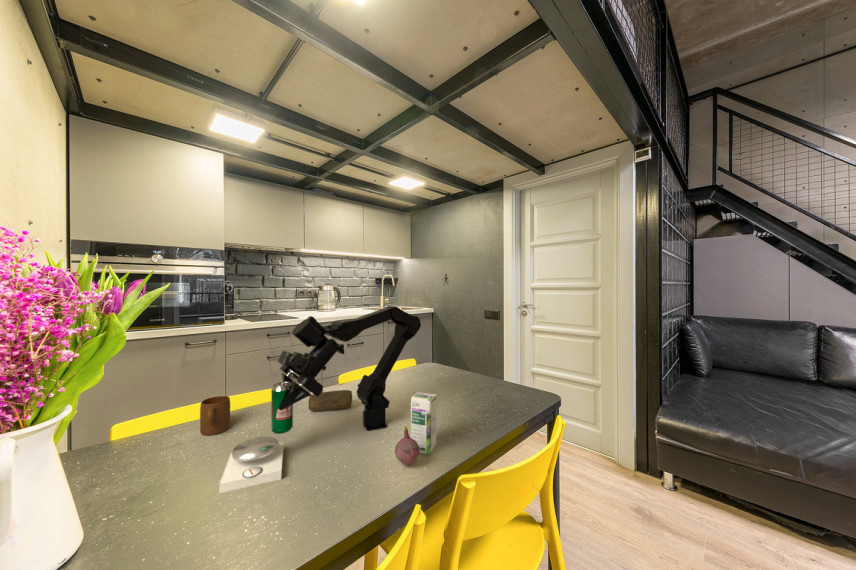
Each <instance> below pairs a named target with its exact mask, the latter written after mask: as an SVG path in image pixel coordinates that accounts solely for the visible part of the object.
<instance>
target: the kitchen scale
mask: <svg viewBox="0 0 856 570" xmlns="http://www.w3.org/2000/svg"><path fill="white" fill-rule="evenodd" d="M283 456H284V442H283V441H282V442H278V448H277V449H276V450H275V451H274V452H273V453H272V454H270V455H268V456H266V457H263V458H261V459H257V460H253V461H237V460H234V459H233V458H232V451H231V453H230V455H229V457H228V460H227V463H226V466H225V468H224V470H223V473H222V476H221V479H220V481H219V483H218V484H219V486H218V487H219V490H218V491H219V493H218V494H222V493H228V492H232V491H236V490H240V489H244V488H245V489H246V488H249V487H253V486H257V485H259V486H260V485H262V484H267V483H271V482H276V481H281V480H282V475H283V459H284V458H283Z"/></svg>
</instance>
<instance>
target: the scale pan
mask: <svg viewBox="0 0 856 570" xmlns="http://www.w3.org/2000/svg"><path fill="white" fill-rule="evenodd" d="M278 443H279V440H278V438H276V437H273V436H272V437H271V436H260V437H254V438H251V439H247V440H245V441H243V442H241V443H238V444H237V445H236V446H235V447H234V448H233V449H232V451H231V452H232V458H233V459H234V460H237V461H253V460H257V459H261V458H263V457H266V456H268V455H270V454H272V453H273V452H274V451H275V450H276V449H277V448H278Z"/></svg>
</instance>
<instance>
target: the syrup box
mask: <svg viewBox="0 0 856 570" xmlns="http://www.w3.org/2000/svg"><path fill="white" fill-rule="evenodd" d="M410 438H412V439H414V440H415V441H416V442H417V443H418V445H419V449H420V453H422V454H423V455H425V454H426V455H429V456H430V455H431V454H432V452H433V451H434V449H435V448H436V445H437V394H436V393H426V392H421V391H418V392H416V393H415V394H414V395H412V397H411V398H410ZM420 453H419V454H420Z"/></svg>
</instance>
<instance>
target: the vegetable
mask: <svg viewBox="0 0 856 570" xmlns="http://www.w3.org/2000/svg"><path fill="white" fill-rule="evenodd" d="M403 431H404V434H403V435H404V437H403V438H401V439H400V440H399V441H398V442H397V443H396V445H395V447H394V448H395V449H394V454H395V457H396V458H397V460H398V461H399V462H400V463H401V464H402V465H404V466H406V467H407V466H408V467H409V466H411V464H413V463H415V462H416V461H417V460H418V458H419V455H420V449H419V445H418V443H417V442H416V441H415V440H414V439H412V438H411V435H410V433H409V430H408V427H407V426H406V425H405V426H404V428H403Z"/></svg>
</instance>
